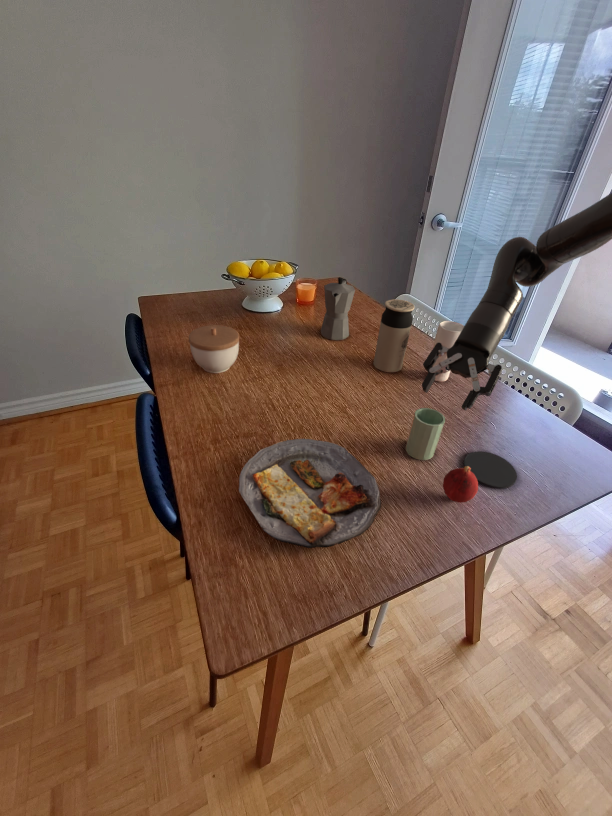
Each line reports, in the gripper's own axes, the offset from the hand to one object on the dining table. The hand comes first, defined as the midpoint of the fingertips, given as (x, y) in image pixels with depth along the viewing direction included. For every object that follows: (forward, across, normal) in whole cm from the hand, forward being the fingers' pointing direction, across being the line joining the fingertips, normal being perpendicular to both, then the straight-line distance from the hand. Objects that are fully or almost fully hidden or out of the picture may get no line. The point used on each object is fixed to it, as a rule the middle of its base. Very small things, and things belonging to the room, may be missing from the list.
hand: (443, 399), depth 80 cm
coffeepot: (-11, -48, +26) cm, 56 cm away
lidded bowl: (+17, -56, -2) cm, 59 cm away
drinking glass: (-11, -11, +26) cm, 30 cm away
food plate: (+29, -9, -14) cm, 33 cm away
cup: (+11, 0, +4) cm, 12 cm away
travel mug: (-7, -24, +22) cm, 34 cm away
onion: (+16, +11, -1) cm, 20 cm away
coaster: (+8, +13, +7) cm, 17 cm away
